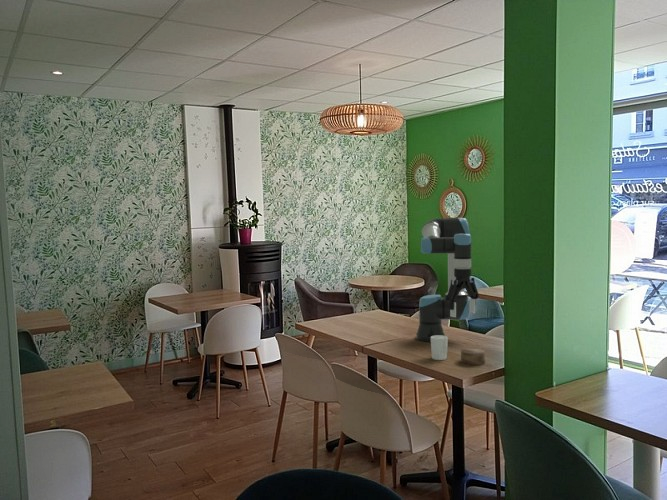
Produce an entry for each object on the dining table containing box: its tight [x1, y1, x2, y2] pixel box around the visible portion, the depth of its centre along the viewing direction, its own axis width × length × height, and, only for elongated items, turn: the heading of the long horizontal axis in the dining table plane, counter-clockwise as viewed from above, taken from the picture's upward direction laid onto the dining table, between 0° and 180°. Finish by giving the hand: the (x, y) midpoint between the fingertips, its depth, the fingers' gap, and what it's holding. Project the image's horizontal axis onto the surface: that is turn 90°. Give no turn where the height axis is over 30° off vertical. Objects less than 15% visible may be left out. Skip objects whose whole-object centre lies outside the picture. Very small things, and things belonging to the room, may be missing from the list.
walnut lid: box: [460, 348, 486, 366], centre depth 251 cm, size 10×10×5 cm
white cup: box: [430, 335, 449, 361], centre depth 258 cm, size 8×8×10 cm
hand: (462, 314), depth 250 cm, fingers open, 13 cm apart
